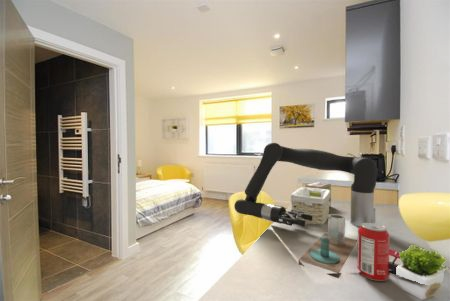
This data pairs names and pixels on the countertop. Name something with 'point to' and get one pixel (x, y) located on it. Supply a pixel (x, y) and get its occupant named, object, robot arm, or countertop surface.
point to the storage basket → (312, 204)
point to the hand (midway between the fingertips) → (308, 220)
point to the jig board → (332, 248)
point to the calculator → (394, 261)
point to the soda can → (373, 251)
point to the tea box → (319, 186)
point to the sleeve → (336, 229)
